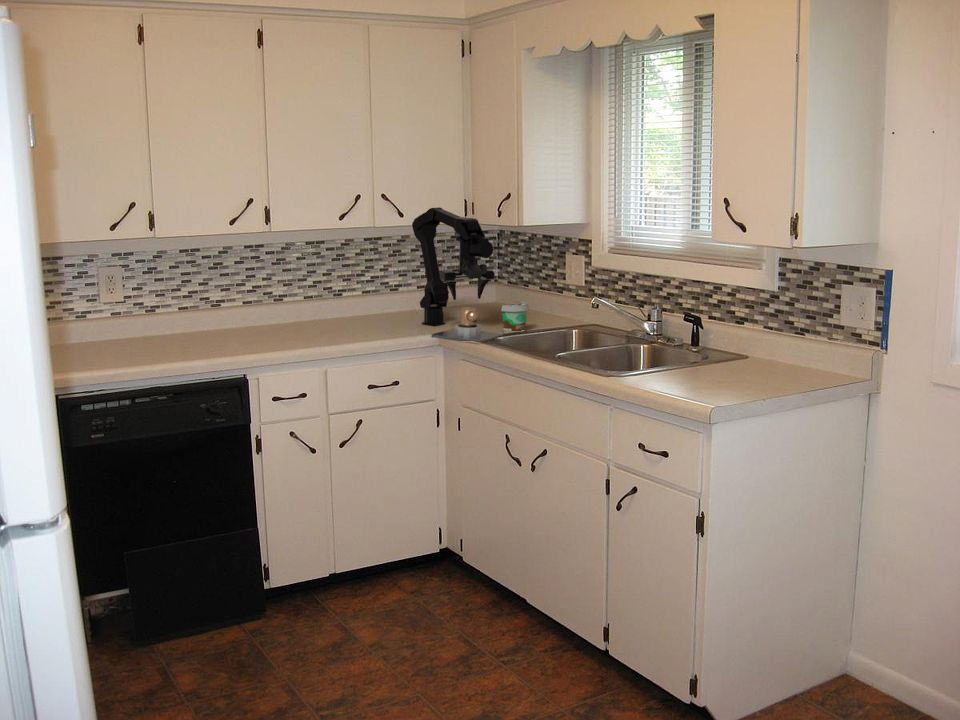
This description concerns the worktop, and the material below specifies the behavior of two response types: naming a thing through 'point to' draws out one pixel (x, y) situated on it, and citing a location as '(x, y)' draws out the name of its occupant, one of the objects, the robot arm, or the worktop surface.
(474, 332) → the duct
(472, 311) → the elbow
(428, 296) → the robot arm
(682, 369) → the worktop surface
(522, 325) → the food container
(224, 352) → the worktop surface
